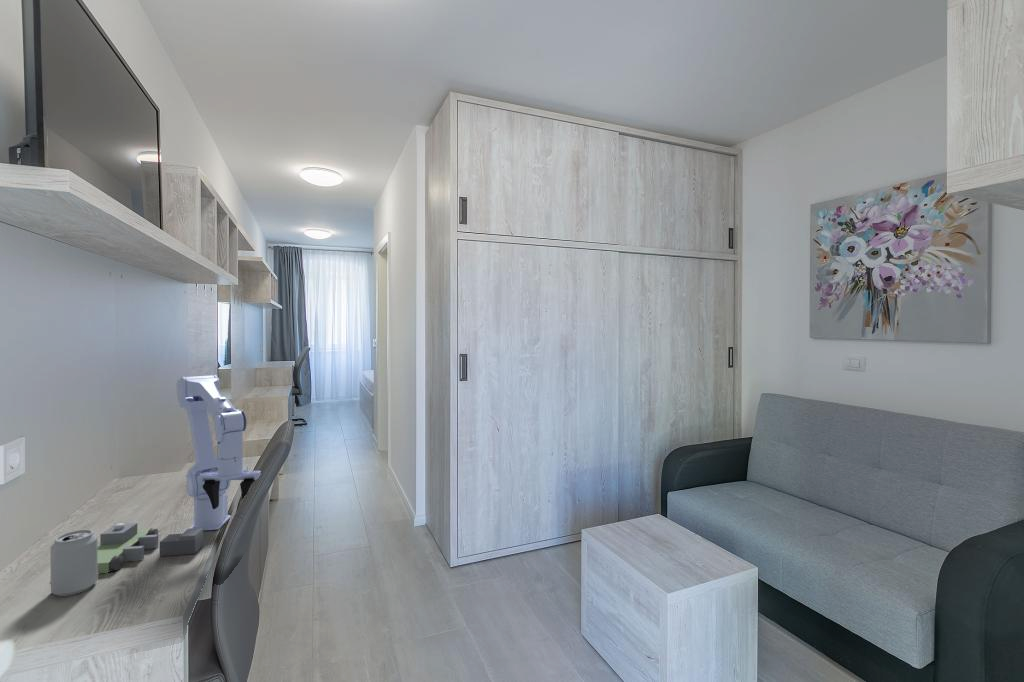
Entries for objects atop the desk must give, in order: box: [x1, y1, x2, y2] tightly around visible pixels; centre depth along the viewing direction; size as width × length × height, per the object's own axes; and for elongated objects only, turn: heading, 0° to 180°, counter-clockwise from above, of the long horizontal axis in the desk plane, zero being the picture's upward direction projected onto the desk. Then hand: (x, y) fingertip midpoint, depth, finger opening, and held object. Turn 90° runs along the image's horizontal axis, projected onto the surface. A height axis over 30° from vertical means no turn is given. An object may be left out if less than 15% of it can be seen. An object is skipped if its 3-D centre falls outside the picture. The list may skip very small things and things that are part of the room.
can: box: [49, 528, 99, 597], centre depth 102 cm, size 8×8×12 cm
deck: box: [98, 522, 159, 574], centre depth 116 cm, size 18×14×6 cm
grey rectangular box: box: [159, 528, 204, 557], centre depth 119 cm, size 4×8×5 cm, turn 101°
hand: (230, 506), depth 125 cm, fingers open, 6 cm apart
